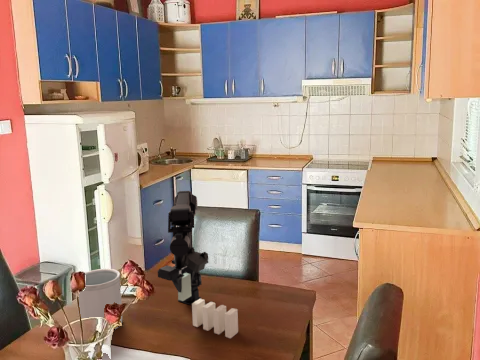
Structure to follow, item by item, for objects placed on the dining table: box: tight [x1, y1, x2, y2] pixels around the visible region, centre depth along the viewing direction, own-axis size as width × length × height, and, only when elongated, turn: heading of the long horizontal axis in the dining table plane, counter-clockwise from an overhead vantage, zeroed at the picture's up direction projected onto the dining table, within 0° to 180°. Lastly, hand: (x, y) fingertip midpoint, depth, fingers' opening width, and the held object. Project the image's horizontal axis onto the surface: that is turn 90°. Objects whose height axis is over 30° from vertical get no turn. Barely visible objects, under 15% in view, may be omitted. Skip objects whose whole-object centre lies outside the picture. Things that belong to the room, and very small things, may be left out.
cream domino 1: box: [191, 298, 206, 328], centre depth 148 cm, size 2×4×8 cm, turn 146°
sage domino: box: [177, 273, 191, 301], centre depth 146 cm, size 2×4×8 cm, turn 146°
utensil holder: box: [77, 268, 123, 330], centre depth 148 cm, size 15×15×18 cm
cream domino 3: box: [213, 304, 227, 335], centre depth 143 cm, size 2×4×8 cm, turn 146°
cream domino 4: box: [224, 307, 239, 339], centre depth 141 cm, size 2×4×8 cm, turn 146°
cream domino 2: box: [202, 301, 217, 332], centre depth 145 cm, size 2×4×8 cm, turn 146°
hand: (184, 289), depth 146 cm, fingers closed on sage domino, 4 cm apart
